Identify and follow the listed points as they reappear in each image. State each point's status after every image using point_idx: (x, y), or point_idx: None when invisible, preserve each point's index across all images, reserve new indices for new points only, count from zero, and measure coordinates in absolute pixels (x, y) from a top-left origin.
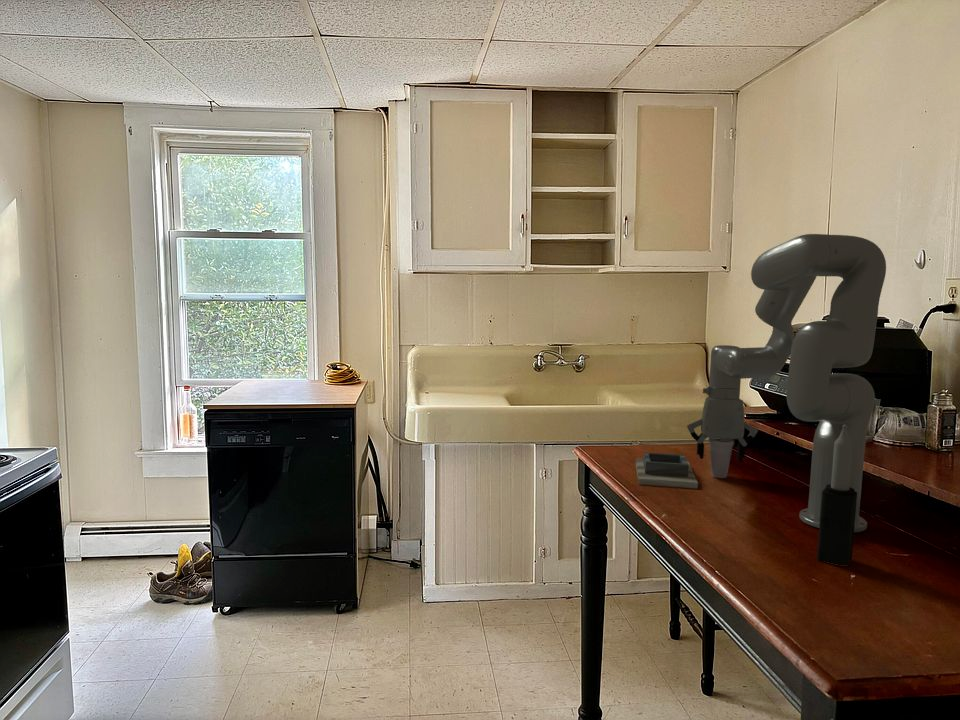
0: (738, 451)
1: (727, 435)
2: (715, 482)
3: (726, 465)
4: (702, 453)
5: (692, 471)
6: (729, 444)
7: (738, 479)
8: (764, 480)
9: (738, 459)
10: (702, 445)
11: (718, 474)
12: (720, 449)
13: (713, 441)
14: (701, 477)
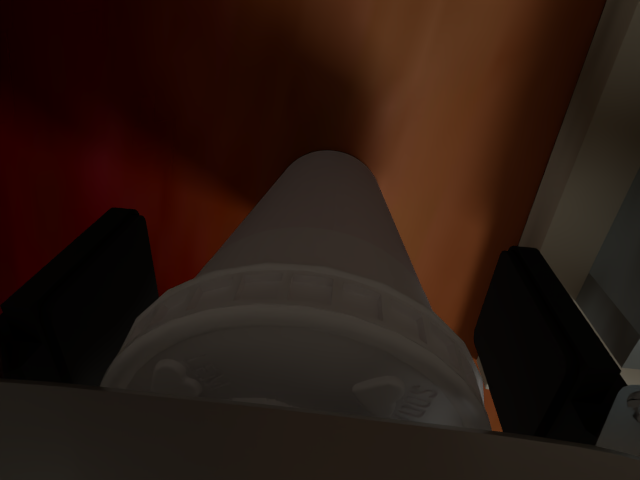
0: (111, 313)
1: (165, 455)
2: (410, 4)
3: (275, 188)
4: (540, 276)
5: (581, 153)
6: (187, 298)
7: (201, 136)
8: (22, 141)
9: (145, 243)
10: (593, 351)
11: (346, 160)
12: (342, 254)
13: (464, 374)
14: (479, 144)
